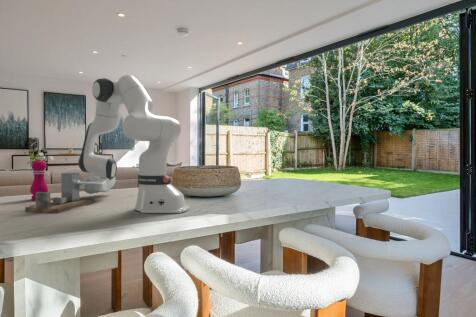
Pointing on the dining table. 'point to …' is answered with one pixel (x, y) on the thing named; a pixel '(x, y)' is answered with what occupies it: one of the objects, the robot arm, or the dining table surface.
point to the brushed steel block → (69, 186)
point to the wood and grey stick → (56, 200)
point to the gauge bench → (47, 206)
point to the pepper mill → (38, 178)
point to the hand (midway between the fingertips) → (74, 187)
